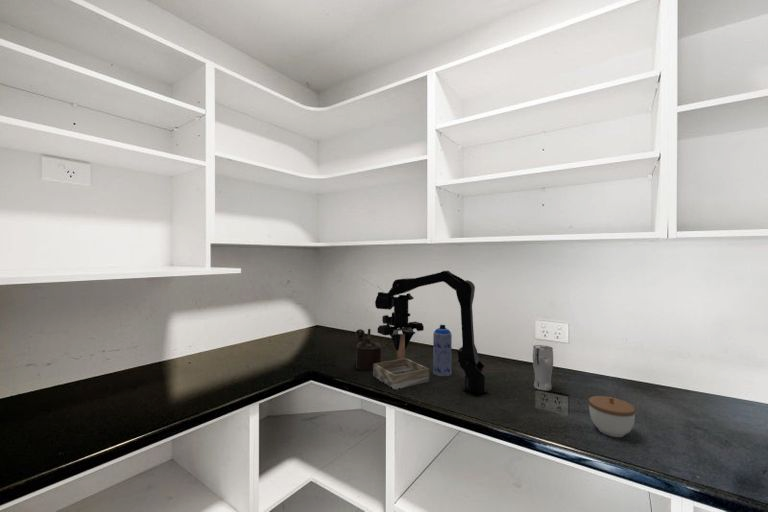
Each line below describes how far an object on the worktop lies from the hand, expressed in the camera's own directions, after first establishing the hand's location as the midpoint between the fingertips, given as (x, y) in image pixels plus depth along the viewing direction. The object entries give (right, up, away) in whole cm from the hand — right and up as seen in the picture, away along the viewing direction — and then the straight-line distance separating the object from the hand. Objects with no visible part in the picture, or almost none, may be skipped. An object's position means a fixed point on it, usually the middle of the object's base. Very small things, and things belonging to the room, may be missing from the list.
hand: (400, 349), depth 132 cm
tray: (0, -11, 0) cm, 11 cm away
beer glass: (+53, -12, -8) cm, 54 cm away
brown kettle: (-14, -12, +13) cm, 22 cm away
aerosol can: (+18, -12, +7) cm, 23 cm away
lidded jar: (+57, -12, -39) cm, 70 cm away
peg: (0, -3, 0) cm, 3 cm away
